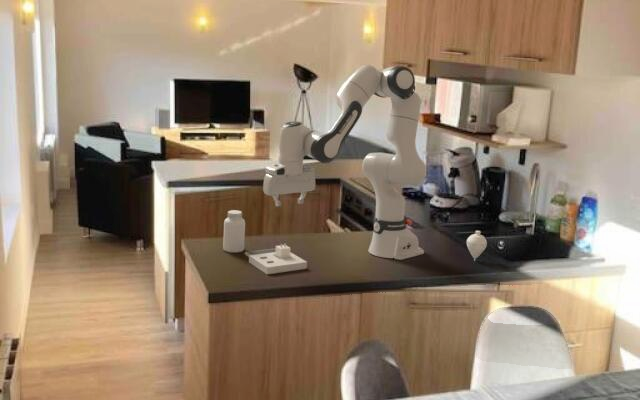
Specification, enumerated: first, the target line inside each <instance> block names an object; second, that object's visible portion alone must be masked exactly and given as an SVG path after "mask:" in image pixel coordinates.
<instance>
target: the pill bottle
mask: <svg viewBox="0 0 640 400" xmlns="http://www.w3.org/2000/svg"><path fill="white" fill-rule="evenodd" d="M245 234H246V221H245V219H244V218H243V212H242V211H241V210H235V209H231V210H228V211H227V217H226V218H225V219H224V222H223V241H222V242H223V244H222V249H223V251H224V252H227V253H233V254H234V253H241V252H243V251H244V250H245V237H246V235H245Z"/></svg>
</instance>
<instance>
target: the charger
mask: <svg viewBox="0 0 640 400" xmlns="http://www.w3.org/2000/svg"><path fill="white" fill-rule="evenodd" d="M279 244H280V245H275V257H277V258H278V259H285V258H290V252H291V249H292V248H291V247H290V246H288V245H287V243H286V242H285V243H284V244H283V243H279Z"/></svg>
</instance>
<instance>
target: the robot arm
mask: <svg viewBox="0 0 640 400" xmlns="http://www.w3.org/2000/svg"><path fill="white" fill-rule="evenodd" d="M415 85H416V78H415V75H414V72H413V71H412V70H411V68H409V67H407V66H404V65H403V66H402V65H397V66H387V67H386V68H384V69H379V70H378V69H377V68H376V67H375V66H374V65H373V66H372V65H370V64H364V65H363V64H362V65H361V66H360V67H359V68H358V69H356V70H355V71H354V72H353V73H352V74H350V76H349V77H348V78H346V80H345V81H344V82H343V83H342V85H341V86H339V89H338V91H337V92H336V97H335V100H336V104H337V105H338V108H339V109H340V110H341V113H340V114H339V117H338V119H337V120H336V122H335V123H334V124H333V126H332V128H331V129H330V130H329V131H327V132H324V133H323V132H321V131H317V130H315V129H313V128H310V127H308V126H306V125H305V124H303V123H302V121H296V120H295V121H287V122H285V123H284V124H283V125H282V126H281V127H280V131H279V136H278V137H279V138H278V149H279V156H278V160H277V161H276V162H274V163H272V164H269V165H267V166H265V172H266V173H265V175H264V177H263V184H262V185H263V186H262V191H263V193H264V194H265V195H267V196H269V197H270V196H272V197H271V198H273V200H274V205H275V207H282V201H280V200H279V196H280V195H286V194H287V195H288V194H294V193H300V196H299V197H298V198H297V204H298V205H299V204H304V199H305V198H306V196H307V192H312V191H314V190H315V189H316V176H315V174H316V168H315V167H313V166H312V165H304V157H306V156H307V157H309V158H312V159H314V160H315V161H317V162H319V163H321V164H330V163H331V162H333V161H335V160H336V159H337V157H338V156H339V154H340V151H341V149H342V147H343V144H344V143H345V140H347V138H348V136H349V135H350V133H351V132H352V130H353V129H354V127H355V126H356V124H357V122H358V121H359V119H360V117H361V115H362V112H363V108H364V107H365V105H366V104H367V103H368V101H370V99H371V98H372V96H373V95H375V96H377V97H378V98H379V97H380V98H381V99H382V98H383V99H385V98H390V102H391V110H390V115H389V119H388V124H387V128H386V134H385V135H386V138H387V140H388V142H390V143H391V144H392V145H393V146H394V147H395V154H393V153H389V152H388V153H387V152H370V153H367V154H366V156H365V157H364V159H363V161H362V163H361V164H362V165H361V169H362V172H363V175H364V176H365V177H366V178H367V179H368V180H369V182H370V183H371V185H372V187H373V190H374V191H373V192H374V193H375V216H374V217H373V223H372V224H373V233H372V235H371V236H372V238H371V241H370V245H369V248H368V250H367V251H368V253H369V254H371V255H373V256H376V257H379V258H384V259H385V258H386V259H393V258H394V260H399V261H401V260H405V259H409V258H413V257H416V256H420V255H423V254H424V253H425V250H424V249H423V248H421V247H420V246H419V239H418V236H417V235H416V234H414V233H413V232H412V231H411V230H410V229H409V228H408V227H407V225H408V226H411V225H413V221H412V220H411V219H409V218H408V219H406V218H405V210H406V209H405V208H406V199H405V197H404V196H403V194H401V193H400V192H399V191H398V190H397V188H396V187H395V186H396V185H400V186H405V187H413V186H416V187H417V186H420V185H421V184H423V182H424V181H425V180H426V177H427V166H426V164H425V162H424V161H423V159H422V158H421V157H420V155H419V153H418V151H417V147H416V137H417V131H418V125H419V120H420V113H421V97H420V95H419V94H418V93H417V92H416V86H415Z"/></svg>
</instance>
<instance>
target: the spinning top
mask: <svg viewBox="0 0 640 400" xmlns="http://www.w3.org/2000/svg"><path fill="white" fill-rule="evenodd" d="M481 233H482V232H481V230H475V233H473V234H471V235H469V236H468V237H467V239H466V246H467V249H468V251H469V253H470V254H471V256H472V258H473V261H474V262H475V261H476V259H477V258H478V257H480V255H481V254H482V253H483V252H484V251H485V249H486V248H487V246H488V245H487V244H488V242H487V239H486V237H485V236H484V235H482V234H481Z"/></svg>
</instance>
